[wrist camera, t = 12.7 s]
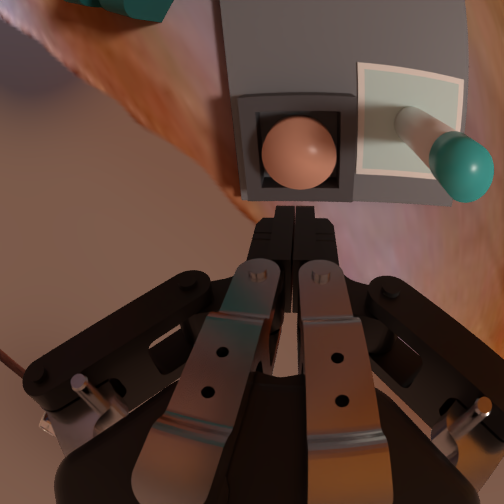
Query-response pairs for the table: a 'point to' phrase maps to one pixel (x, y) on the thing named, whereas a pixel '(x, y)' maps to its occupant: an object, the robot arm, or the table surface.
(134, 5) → the bracket
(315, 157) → the button
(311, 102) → the drawing board
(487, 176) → the marker
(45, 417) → the beer glass
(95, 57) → the table surface
